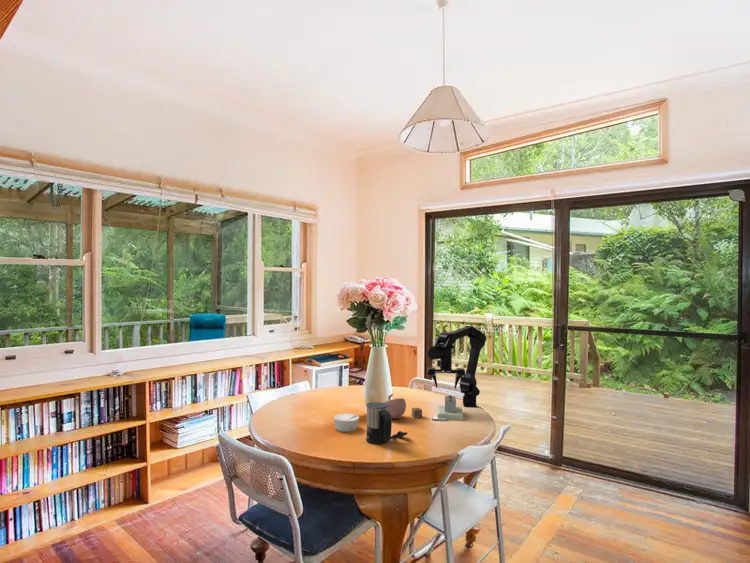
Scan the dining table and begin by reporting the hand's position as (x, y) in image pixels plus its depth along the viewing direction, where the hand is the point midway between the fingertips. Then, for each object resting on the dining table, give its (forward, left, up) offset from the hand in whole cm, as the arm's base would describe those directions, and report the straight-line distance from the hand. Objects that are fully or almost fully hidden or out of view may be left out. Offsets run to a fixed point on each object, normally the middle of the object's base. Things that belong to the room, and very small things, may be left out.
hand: (445, 388), depth 226 cm
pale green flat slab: (-2, +6, -12) cm, 13 cm away
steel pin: (+3, +16, -12) cm, 20 cm away
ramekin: (+44, +35, -12) cm, 58 cm away
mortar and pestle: (+25, +16, -12) cm, 32 cm away
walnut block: (+14, +12, -12) cm, 22 cm away
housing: (-2, +6, -9) cm, 11 cm away
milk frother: (+25, +46, -12) cm, 54 cm away
